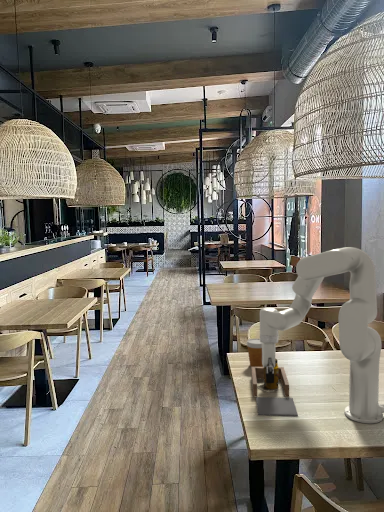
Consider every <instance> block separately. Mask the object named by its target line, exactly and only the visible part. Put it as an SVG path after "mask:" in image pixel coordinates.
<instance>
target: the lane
mask: <svg viewBox="0 0 384 512" xmlns="http://www.w3.org/2000/svg"><path fill="white" fill-rule="evenodd" d="M250 368H251V370H250V371H251V386H252V396H253V397H258V388H257V386H258V380H264V367H251V366H250ZM278 368H279V370H278V379H279V380H280V382H281V387H283V388H282V390H283V393H284V398H290V382H289V380H288V377H287V373H286V370H285V367H284V366H281V367H280V366H278Z"/></svg>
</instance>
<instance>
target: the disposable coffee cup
mask: <svg viewBox="0 0 384 512" xmlns="http://www.w3.org/2000/svg"><path fill="white" fill-rule="evenodd" d="M246 346H247V351H248V352H247V353H248V361H249V366H250V368H251V367H263V365H262V343H261V342H260V338H249V339H247V341H246Z"/></svg>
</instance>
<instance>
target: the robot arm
mask: <svg viewBox="0 0 384 512" xmlns="http://www.w3.org/2000/svg"><path fill="white" fill-rule="evenodd" d="M295 271H296V275H297V277H296V279H295V280H294V282H293V284H292V287H291V288H292V291H293V292H294V293H295V297H294V299H293V301H292V303H291V304H290V306H288V308H286V309H283V310H280V311H279V310H278V309H276V308H274V307H269V306H268V307H263V308H261V309H260V310H259V339H260V342H261V343H262V365H263V367H266V368H267V373H266V383H274V367H275V359H276V344H278V343H279V331H283V332H284V331H287V330H290V329H291V328H294V327H296V326H299V325H300V324H301V323H302V321H303V320H304V319H305V318H306V315H307V314H308V312H309V311H310V309H311V307H312V302H313V297H314V295H315V294H316V292H317V290H318V288H319V287H320V286H321V284H322V282H323V281H324V279H325V278H327V277H330V276H335V275H339V274H345V273H348V272H349V273H350V279H349V285H348V287H349V300H347V301H346V302H343V304H342V305H341V306H340V309H339V312H338V318H337V319H338V320H337V321H338V340H339V343H338V344H339V348H340V351H341V354H342V355H343V356H344V357H345V358H346V359H347V360H348V361H349V380H348V381H349V386H348V387H349V389H348V391H349V392H348V393H349V396H348V399H349V400H348V405H347V406H346V407H344V415H345V416H346V417H347V418H348V419H350V420H352V421H355V422H357V423H361V424H377V423H380V422H382V421H383V420H384V404H380V402H379V397H380V396H379V392H380V391H379V387H380V386H379V385H380V384H379V383H380V376H379V375H380V359H381V352H382V351H381V350H382V338H381V335H380V334H379V332H378V331H377V330H376V329H374V328H373V327H370V326H369V324H371V323H372V322H373V321H375V320H376V318H377V316H378V307H377V306H378V301H377V285H376V282H377V281H376V278H377V277H376V276H377V275H376V267H375V264H374V261H373V259H372V258H371V256H370V255H369V254H368V253H367V252H365V251H364V250H362V249H360V248H358V247H353V246H348V247H340V248H335V249H331V250H326V251H323V252H320V253H316V254H312V255H308V256H304V257H302V258H300V259H299V260H298V261H297V263H296V267H295ZM267 365H269V366H267ZM268 368H269V369H268Z"/></svg>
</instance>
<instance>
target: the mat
mask: <svg viewBox="0 0 384 512" xmlns="http://www.w3.org/2000/svg"><path fill="white" fill-rule="evenodd" d="M255 401H256V408H257V409H256V410H257V411H256V412H257V415H258V416H267V417H268V416H271V417H272V416H273V417H274V416H276V417H280V416H281V417H299V414H298V411H297V408H296V403H295V400H294V399H293V397H273V396H271V397H270V396H255Z"/></svg>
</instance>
